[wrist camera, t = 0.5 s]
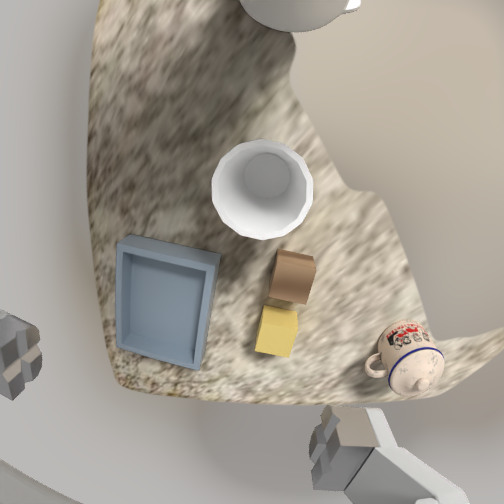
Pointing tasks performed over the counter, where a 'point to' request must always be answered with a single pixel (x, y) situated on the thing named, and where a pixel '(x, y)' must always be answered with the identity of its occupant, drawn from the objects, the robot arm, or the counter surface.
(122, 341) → the tray
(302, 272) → the walnut block
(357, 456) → the robot arm
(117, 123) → the counter surface
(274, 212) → the foam cup
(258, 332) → the mustard block
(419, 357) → the teacup with lid
